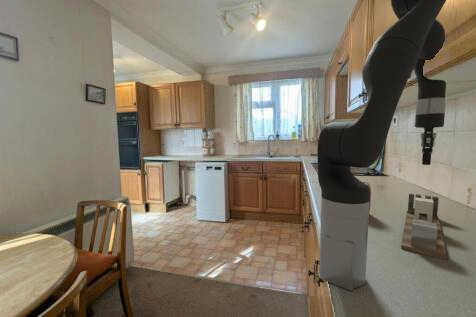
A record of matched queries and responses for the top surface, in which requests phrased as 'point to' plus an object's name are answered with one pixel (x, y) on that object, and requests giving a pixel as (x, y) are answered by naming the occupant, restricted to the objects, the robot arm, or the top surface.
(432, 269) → the top surface
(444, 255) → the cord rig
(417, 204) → the sleeve
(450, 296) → the top surface
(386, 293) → the top surface
